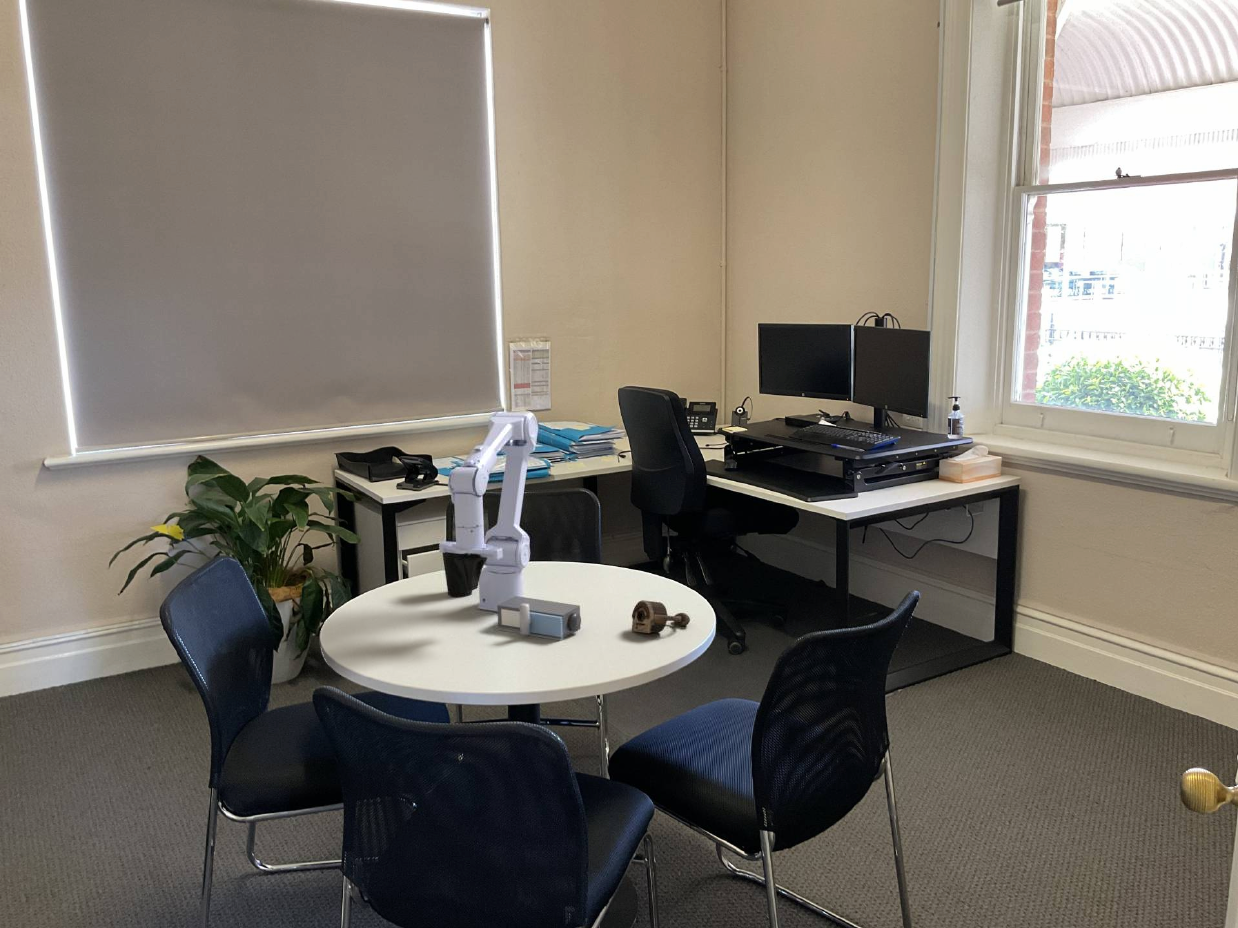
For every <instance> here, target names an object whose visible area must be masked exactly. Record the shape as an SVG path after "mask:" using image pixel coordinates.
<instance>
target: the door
mask: <svg viewBox="0 0 1238 928" xmlns="http://www.w3.org/2000/svg"><path fill="white" fill-rule="evenodd" d="M519 609H520V635H523V636H525V635H526V636H528V635H527V634H530V632H532V633H538V634H544V635H550V636H555V637H563V624H562V617H559V616H553V615H546V614H540V613H533V612H529V604H527V603H523V604H520V605H519Z"/></svg>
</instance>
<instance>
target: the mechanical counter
mask: <svg viewBox="0 0 1238 928" xmlns="http://www.w3.org/2000/svg"><path fill="white" fill-rule="evenodd" d="M667 611H668V610H667V607H666V606H665V604H664V603H662V602H660V601H659V602H658V601H650V600H644V599H642V600H639V601H638V602H637V603H636V605H635V606H634V608H633V611H632V614H631V619H632V624H631V632H635V633H636V632H637V633H646V634H650V633H655V634H656V633H661V632H662V631H664V629H665V627H666V625H667V622H674V623H675V624H676V625H678V626H680V627H686V626H687V625H689V623H690V621H691V617H690V616H689V614H686V613H684V612H678V613H676V614H674V615H669V614H668V612H667Z"/></svg>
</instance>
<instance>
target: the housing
mask: <svg viewBox="0 0 1238 928" xmlns="http://www.w3.org/2000/svg"><path fill="white" fill-rule="evenodd" d="M523 603H527V604H529V612H533V613H540V614H546V615H553V616H559V617H562V624H563V637H555V636H550V635H544V634H538V633H532V632H530V634H527V635H526V636H532V637H537V638H538V637H539V638H543V639H548V640H549V639H550V640H554V641H562V640H564V639H566V638H567V637H569V636H570V635H572V634H574V633H575V632H578V631H579V630H580V629H581V625H582V617H581V605H578V604H572V603H571V604H570V603H564V602H558V601H552V600H544V599H538V598H531V597H524V596H523V597H519V596H515V597H513V598H511V599H509V600H507V601H505V602H503V603H501V604H499V605H497V610H498V612H497V626H496V627H495V628H494V629H495V630H496V631H502V632H507V633H514V634H520V609H519V605H520V604H523ZM520 635H521V634H520Z"/></svg>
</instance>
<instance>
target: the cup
mask: <svg viewBox="0 0 1238 928" xmlns="http://www.w3.org/2000/svg"><path fill="white" fill-rule="evenodd" d="M449 542H456V540H451V541H449ZM441 553H442V552H441ZM457 555H458V554H457V553H450V552H444V553H442V559H443V560H442V561H443V568H444V574H445V580H446V589H447V594H448V596H449V597H451V598H466V597H469V596H471V595H472V594H473V590H472V591H471V590H467V588H466V585H465V582H464V579H463V576H462V573H461V571H460V569H459V568H458V566H457V564H456V563H455V562H454V558H456V557H457Z"/></svg>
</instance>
